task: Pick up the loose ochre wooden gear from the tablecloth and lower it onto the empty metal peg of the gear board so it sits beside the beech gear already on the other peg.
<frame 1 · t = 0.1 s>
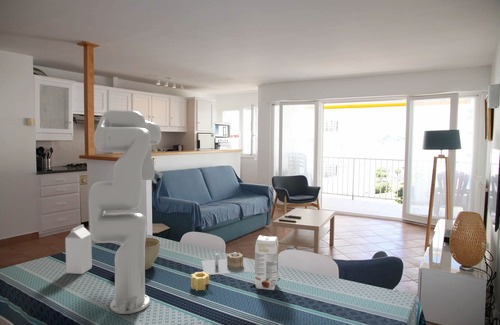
hand: (143, 192, 156), 31 cm above the table, tool pointing down, fingers open, 9 cm apart
juice carton: (266, 286, 130), on the table
ochre gear: (200, 286, 129), on the table
milk carton: (79, 271, 142), on the table
beech gear: (235, 265, 147), resting on gear board
gear board: (225, 269, 146), on the table
planter bowl: (141, 267, 147), on the table
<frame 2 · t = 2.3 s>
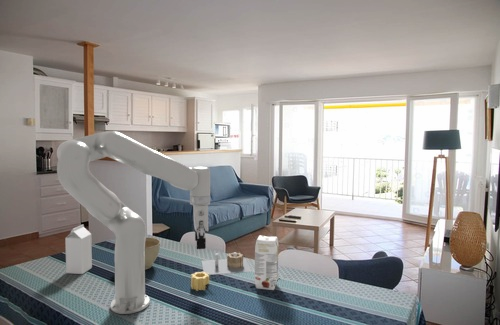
hand: (200, 244, 128), 16 cm above the table, tool pointing down, fingers open, 9 cm apart
nothing on the table moved.
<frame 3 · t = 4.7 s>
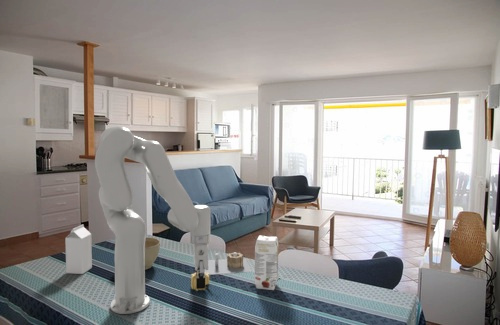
hand: (200, 283, 129), 1 cm above the table, tool pointing down, fingers closed on ochre gear, 6 cm apart
ochre gear: (200, 286, 129), on the table, touching gripper
everything else where it was.
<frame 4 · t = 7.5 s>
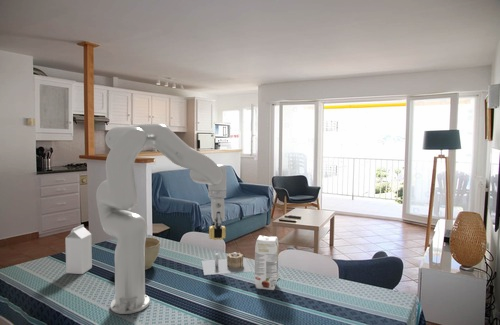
hand: (217, 234, 144), 15 cm above the table, tool pointing down, fingers closed on ochre gear, 6 cm apart
ochre gear: (217, 237, 144), point 14 cm above the table, touching gripper
everything else where it was.
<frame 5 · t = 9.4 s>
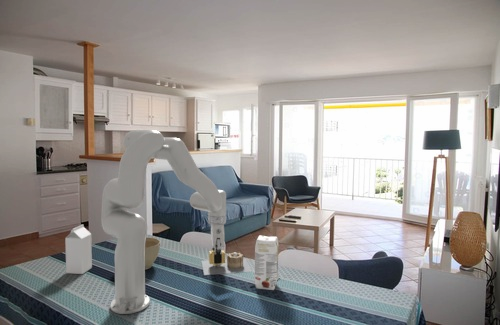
hand: (216, 259, 145), 4 cm above the table, tool pointing down, fingers closed on ochre gear, 6 cm apart
ochre gear: (217, 262, 145), point 3 cm above the table, touching gripper
everything else where it was.
when the fingers open (4 cm above the table, at t = 10.7 s): ochre gear drops 1 cm, resting on gear board.
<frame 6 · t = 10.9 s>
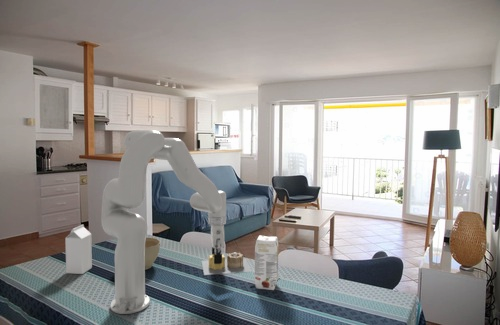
hand: (216, 259, 145), 5 cm above the table, tool pointing down, fingers open, 8 cm apart
ochre gear: (216, 266, 145), point 1 cm above the table, touching gear board
everything else where it was.
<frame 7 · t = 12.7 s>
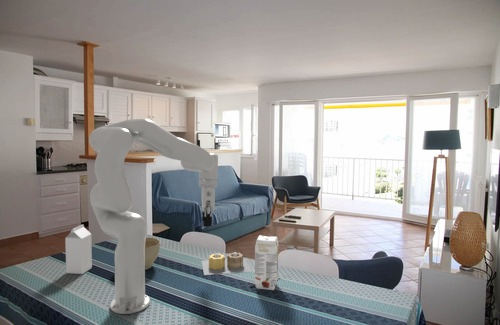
hand: (206, 223, 141), 21 cm above the table, tool pointing down, fingers open, 9 cm apart
nothing on the table moved.
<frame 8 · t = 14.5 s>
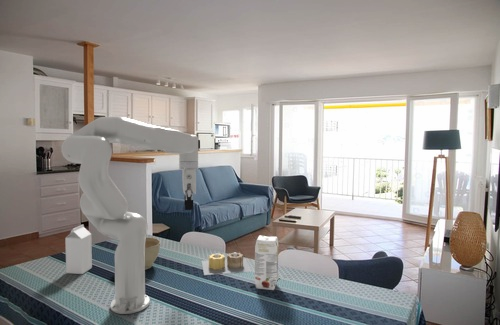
hand: (188, 207, 138), 28 cm above the table, tool pointing down, fingers open, 9 cm apart
nothing on the table moved.
at the end: ochre gear 0.0 cm from the target spot on the gear board, point 1.5 cm above the gear board's base; ochre gear tilted 0°; the gripper is holding nothing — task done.
